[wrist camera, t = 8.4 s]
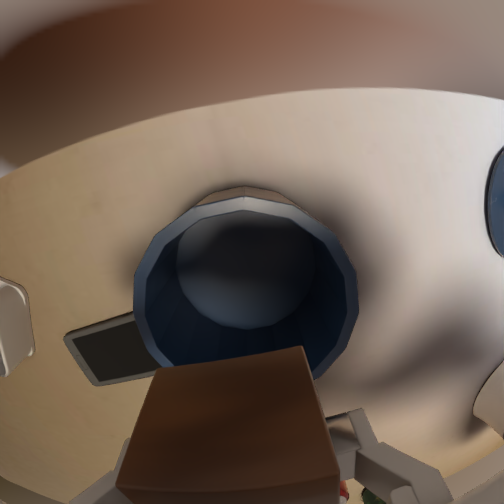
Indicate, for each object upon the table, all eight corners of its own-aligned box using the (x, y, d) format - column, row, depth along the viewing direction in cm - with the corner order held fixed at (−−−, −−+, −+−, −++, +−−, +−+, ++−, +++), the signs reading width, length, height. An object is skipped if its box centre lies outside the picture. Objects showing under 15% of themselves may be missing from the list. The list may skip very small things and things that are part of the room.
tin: (308, 173, 24) (344, 176, 15) (329, 316, 28) (361, 377, 19) (152, 207, 25) (104, 229, 16) (192, 343, 28) (174, 409, 19)
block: (302, 343, 9) (341, 472, 4) (315, 435, 11) (338, 535, 6) (156, 366, 9) (112, 485, 5) (199, 451, 11) (188, 547, 6)
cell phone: (63, 334, 28) (60, 337, 27) (162, 301, 27) (160, 305, 26) (95, 384, 30) (93, 387, 29) (195, 362, 29) (194, 366, 28)
